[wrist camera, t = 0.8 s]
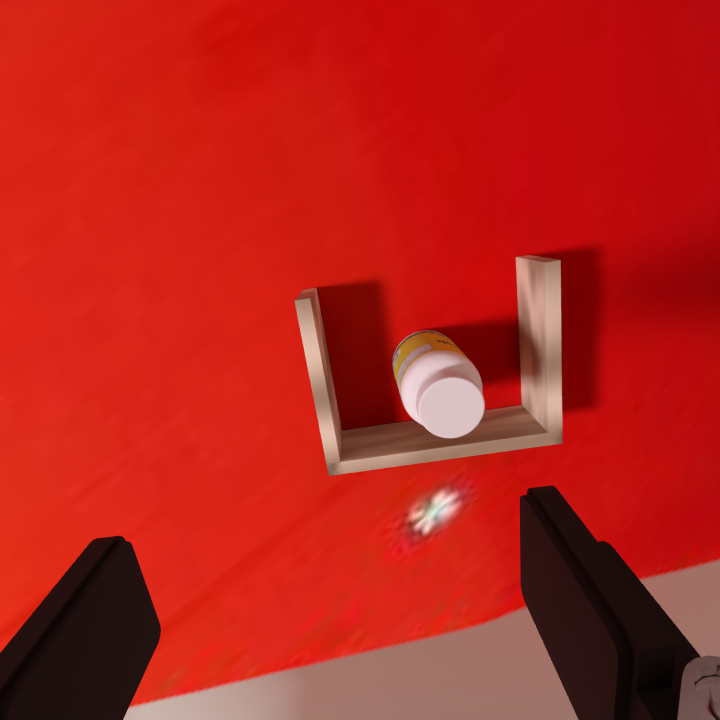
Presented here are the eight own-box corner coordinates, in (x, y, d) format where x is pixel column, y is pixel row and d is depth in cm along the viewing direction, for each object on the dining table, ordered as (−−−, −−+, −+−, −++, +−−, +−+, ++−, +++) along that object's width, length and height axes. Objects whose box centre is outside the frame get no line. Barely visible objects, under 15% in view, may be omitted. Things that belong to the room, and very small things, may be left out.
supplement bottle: (471, 366, 34) (514, 417, 25) (417, 404, 35) (439, 466, 26) (433, 314, 33) (464, 348, 24) (378, 355, 34) (387, 402, 25)
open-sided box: (303, 289, 32) (294, 300, 28) (529, 255, 32) (560, 260, 27) (332, 442, 36) (329, 475, 31) (534, 414, 36) (562, 443, 31)
